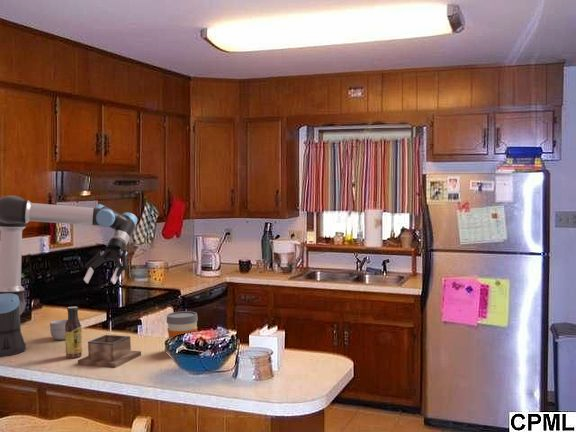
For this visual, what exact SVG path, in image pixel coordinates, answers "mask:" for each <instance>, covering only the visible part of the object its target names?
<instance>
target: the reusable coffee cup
mask: <svg viewBox="0 0 576 432" xmlns="http://www.w3.org/2000/svg"><path fill="white" fill-rule="evenodd" d="M198 317H199V316H198V313H197V312H195V311H189V310H187V311H184V310H183V311H182V310H181V311H175V312H170V313H168V314H166V324H167V327H168V328H167V335H168V339H169V338H171V337H174V336H176V335H179V334H184V333H189V332H194V331H197V332H198V326H197V325H198Z"/></svg>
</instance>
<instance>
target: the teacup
mask: <svg viewBox="0 0 576 432" xmlns="http://www.w3.org/2000/svg"><path fill="white" fill-rule="evenodd" d="M67 320H68V318H67V319H58V320H53V321H50V322H49V328H50V329H49V330H50V335H51V337H52V338H53V339H55V340H65V324H66V322H67ZM79 322H80V324H81V328H82V327H83V325H82V322H81V321H79Z"/></svg>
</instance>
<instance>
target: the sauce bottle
mask: <svg viewBox="0 0 576 432" xmlns="http://www.w3.org/2000/svg"><path fill="white" fill-rule="evenodd" d="M66 309H67V319H68V320H67V322H66V324H65V339H64V342H65V343H64V344H65V356H66V358H67V359H74V358H80V357H81V356H82V355H83V338H82V337H83V336H82V334H83V333H82V328H81V324H82V323H81V324H80V322H81V321H80V319H79V315H78V313H79V312H78V311H79V307H78V306H68V307H67V308H66Z"/></svg>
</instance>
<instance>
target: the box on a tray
mask: <svg viewBox="0 0 576 432" xmlns="http://www.w3.org/2000/svg"><path fill="white" fill-rule="evenodd" d="M131 345H132V344H131V336H129V335H117V334H116V335H115V334H105V335H101V336H99V337H97V338H95V339H94V338H93V339H91V340H89V341H87V352H88V355H87V356H84V357H82V358H79V359H78V360H77V365H85V366H94V367H95V366H96V367H107V368H118V367H119V366H122V365H124V364H126V363H127V362H130V361H132V360H134V359H136V358H138V357H141V356H142V351H140V350H132V346H131Z"/></svg>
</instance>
